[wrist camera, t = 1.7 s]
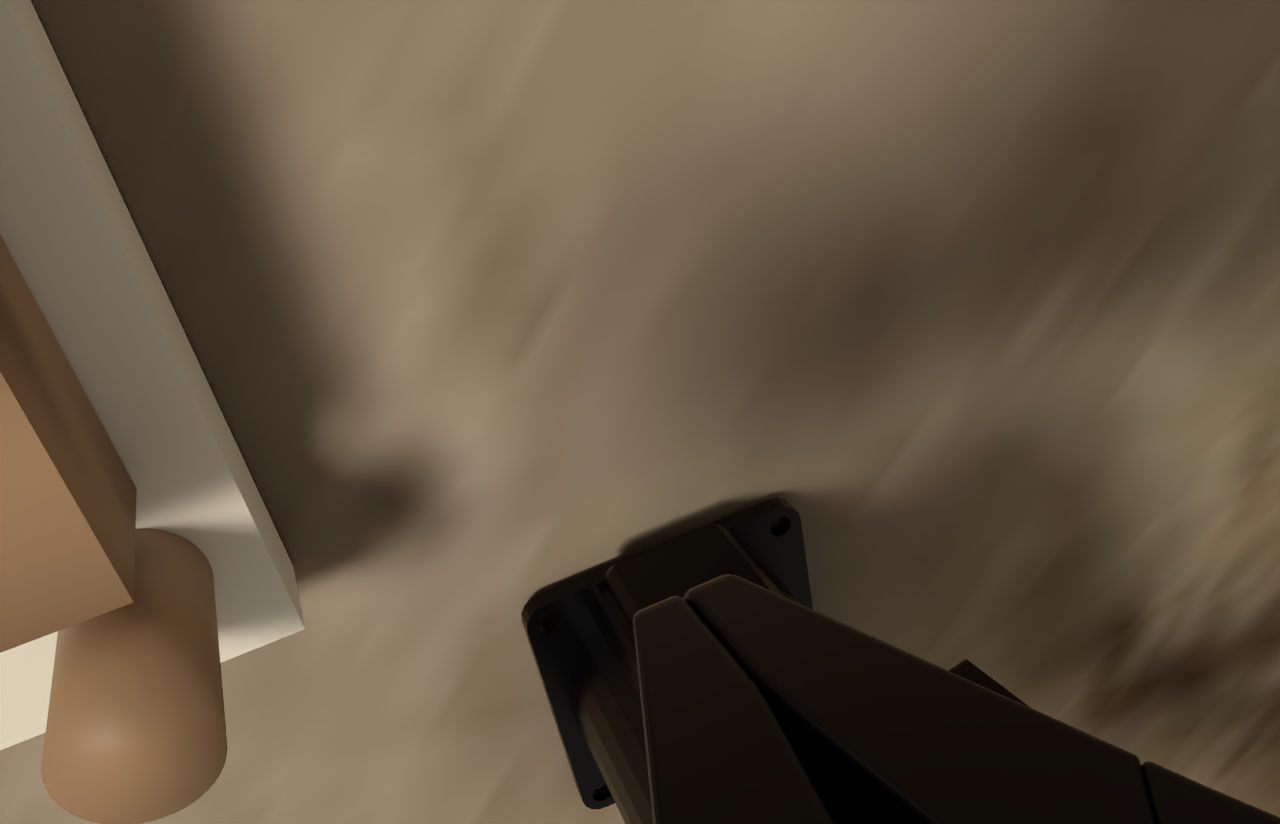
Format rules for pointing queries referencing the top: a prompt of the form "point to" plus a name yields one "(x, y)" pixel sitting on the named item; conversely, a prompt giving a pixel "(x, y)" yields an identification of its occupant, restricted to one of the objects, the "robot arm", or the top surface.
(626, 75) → the top surface
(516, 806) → the top surface
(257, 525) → the white peg board
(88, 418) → the hinged leg
